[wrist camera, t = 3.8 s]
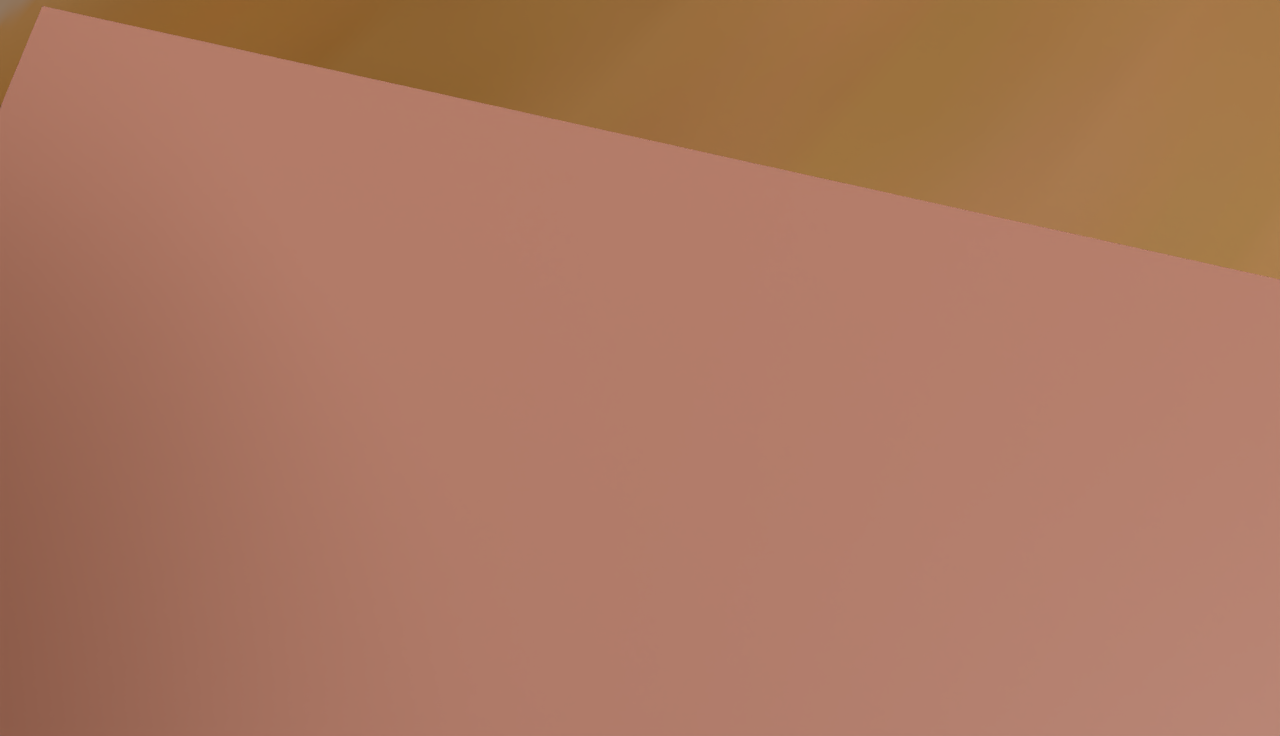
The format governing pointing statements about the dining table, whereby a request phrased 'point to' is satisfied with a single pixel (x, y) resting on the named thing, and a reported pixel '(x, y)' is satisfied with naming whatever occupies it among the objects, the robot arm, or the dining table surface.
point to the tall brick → (591, 432)
